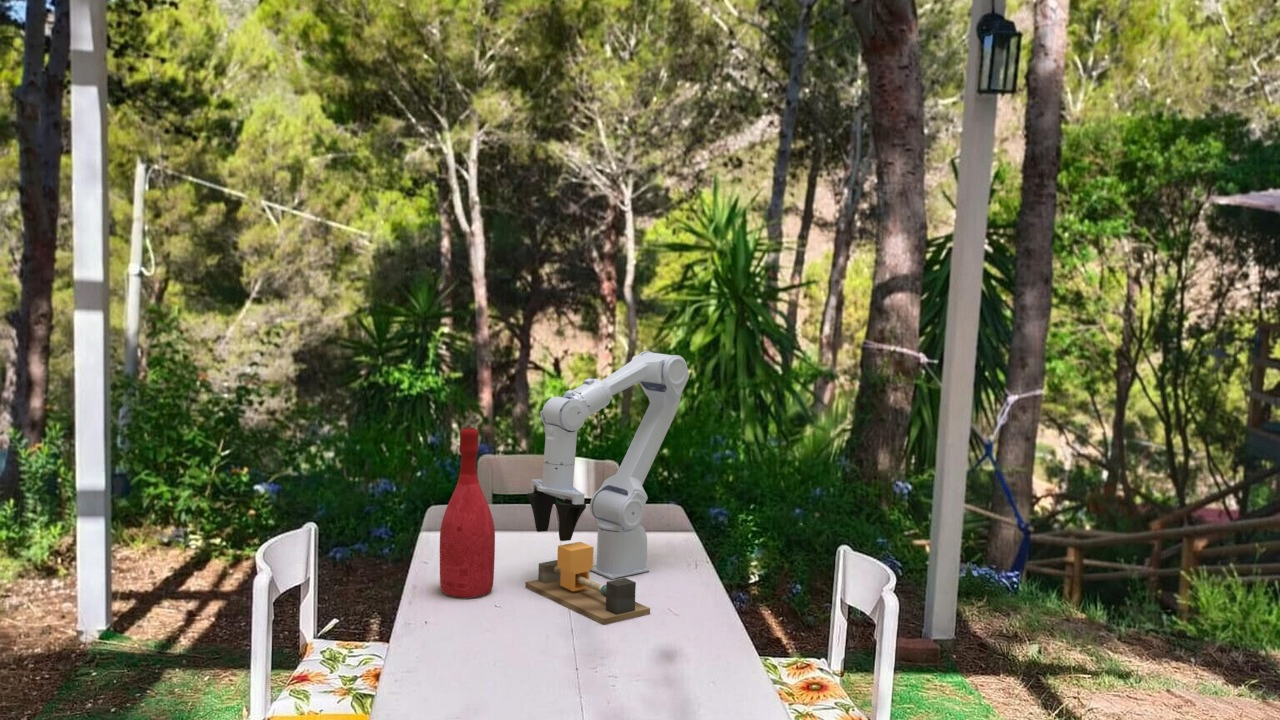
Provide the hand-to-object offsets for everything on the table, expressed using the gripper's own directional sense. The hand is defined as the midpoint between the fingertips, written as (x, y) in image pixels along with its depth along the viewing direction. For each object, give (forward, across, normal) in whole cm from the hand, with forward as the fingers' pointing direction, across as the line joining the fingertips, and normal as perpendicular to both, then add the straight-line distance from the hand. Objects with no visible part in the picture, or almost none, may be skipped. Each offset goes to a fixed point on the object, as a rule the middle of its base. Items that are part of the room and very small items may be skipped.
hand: (553, 535), depth 206 cm
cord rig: (+10, +10, +1) cm, 14 cm away
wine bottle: (+11, -6, -14) cm, 19 cm away
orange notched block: (+8, +7, +1) cm, 10 cm away
